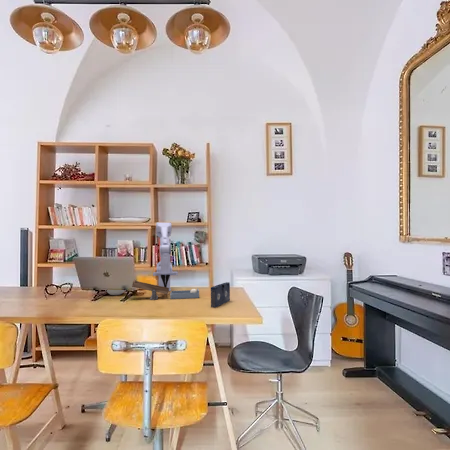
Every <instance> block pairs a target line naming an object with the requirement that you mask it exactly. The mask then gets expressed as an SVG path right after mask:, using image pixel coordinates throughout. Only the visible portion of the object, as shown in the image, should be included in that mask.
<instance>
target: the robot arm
mask: <svg viewBox="0 0 450 450" xmlns="http://www.w3.org/2000/svg"><path fill="white" fill-rule="evenodd" d="M155 224H156V225H155V228H156V229H155V231H156V236H157V237H158V238H159V242H160V243H159V255H160V256H159V257H160V261H159V262H157V263H156V271H154V272H152V276H153V277H156V276H157V277H158V286H163V287H166V288H169V292H172V288H171V276H178V274H179V272H178V271H173V264H172V262H171V253H172V245H171V241H170V237H171V235H172V222H158V221H157V222H156V223H155Z"/></svg>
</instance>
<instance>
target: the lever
mask: <svg viewBox="0 0 450 450" xmlns="http://www.w3.org/2000/svg"><path fill="white" fill-rule="evenodd" d="M131 287H132V288H137V289H141V290H146V291H150V292H152V290H153V289H156V293H159V294H165V295H169V292H170V291H169V288H166V287H163V286H159V285H157V284H151V283H147V282H142V281H137V279H136V280H135V279H133V281H132V285H131Z"/></svg>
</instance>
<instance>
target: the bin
mask: <svg viewBox="0 0 450 450" xmlns="http://www.w3.org/2000/svg"><path fill="white" fill-rule="evenodd" d="M191 290H192V289H189V290H171V291H169V292H170V294H169V295H170V300H184V299H189V300H190V299H200V289H199V288H198V287H197V288H196V290H197V293H190V291H191Z"/></svg>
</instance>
